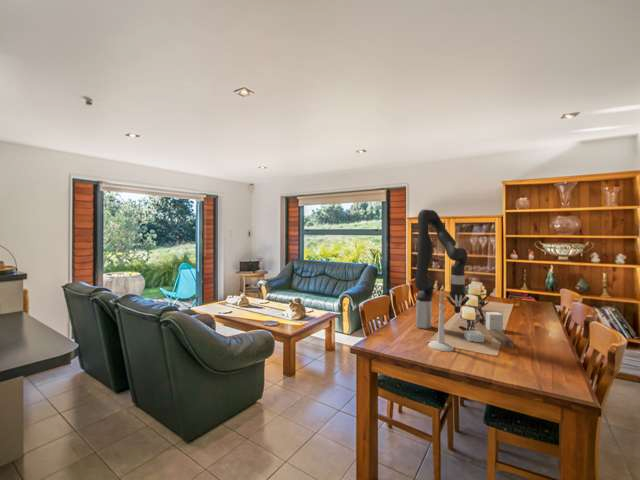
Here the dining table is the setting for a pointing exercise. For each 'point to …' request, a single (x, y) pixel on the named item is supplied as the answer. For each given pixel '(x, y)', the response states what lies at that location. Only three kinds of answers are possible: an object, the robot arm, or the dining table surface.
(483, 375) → the dining table surface
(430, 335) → the dining table surface
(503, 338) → the brown long bar
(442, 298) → the candlestick
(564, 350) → the dining table surface
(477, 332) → the block
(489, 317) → the small box
